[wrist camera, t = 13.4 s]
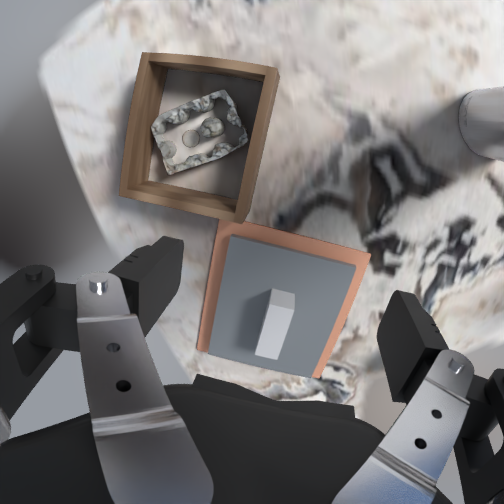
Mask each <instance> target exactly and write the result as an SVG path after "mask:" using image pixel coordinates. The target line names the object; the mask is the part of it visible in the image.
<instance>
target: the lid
mask: <svg viewBox="0 0 504 504" xmlns="http://www.w3.org/2000/svg"><path fill="white" fill-rule="evenodd" d="M355 271H356V265H354V264H351V263H347V262H343V261H339V260H335V259H331V258H327V257H323V256H319V255H315V254H312V253H308V252H304V251H300V250H296V249H292V248H288V247H284V246H280V245H276V244H272V243H268V242H264V241H260V240H256V239H252V238H248V237H244V236H240V235H236V234H231V236H230V241H229V246H228V251H227V256H226V261H225V266H224V271H223V276H222V281H221V286H220V291H219V297H218V302H217V307H216V312H215V317H214V323H213V328H212V333H211V339H210V344H209V350H208V354H210V355H214V356H218V357H221V358H225V359H229V360H233V361H237V362H241V363H245V364H249V365H253V366H257V367H261V368H266V369H270V370H274V371H279V372H284V373H288V374H293V375H298V376H303V377H308V378H311V377H312V375H313V373H314V370H315V368H316V366H317V364H318V362H319V359H320V357H321V355H322V353H323V350H324V348H325V346H326V343H327V341H328V339H329V336H330V334H331V332H332V329H333V327H334V324H335V322H336V320H337V317H338V315H339V312H340V310H341V307H342V305H343V302H344V300H345V297H346V295H347V292H348V289H349V287H350V284H351V282H352V279H353V276H354V273H355Z"/></svg>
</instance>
